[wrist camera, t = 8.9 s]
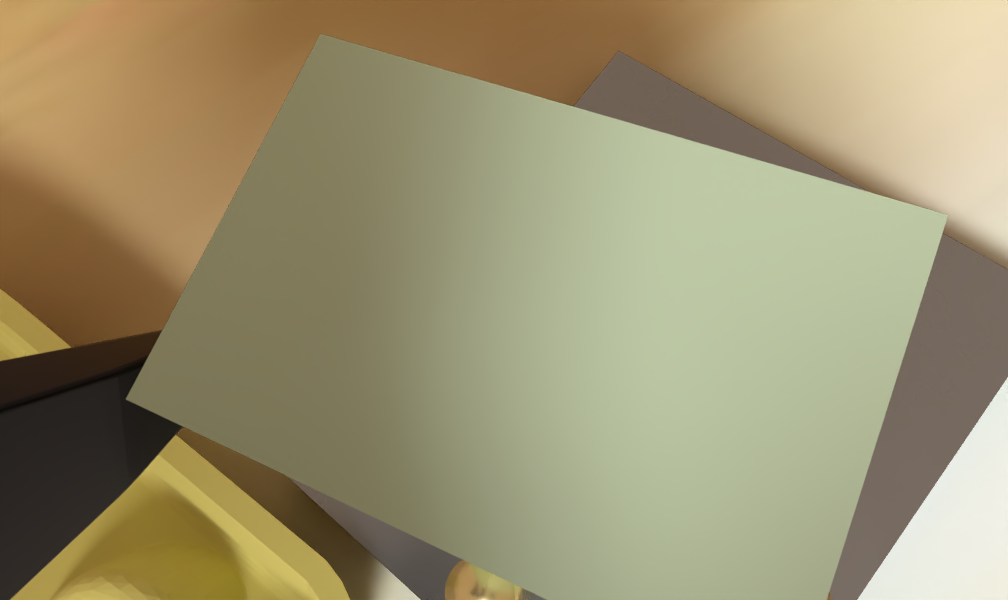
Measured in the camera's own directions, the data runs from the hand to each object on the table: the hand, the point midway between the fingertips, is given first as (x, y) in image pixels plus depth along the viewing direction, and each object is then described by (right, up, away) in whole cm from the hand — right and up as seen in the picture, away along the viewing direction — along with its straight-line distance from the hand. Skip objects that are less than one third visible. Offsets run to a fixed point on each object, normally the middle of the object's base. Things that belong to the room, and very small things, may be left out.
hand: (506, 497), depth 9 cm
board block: (+2, -1, +9) cm, 9 cm away
